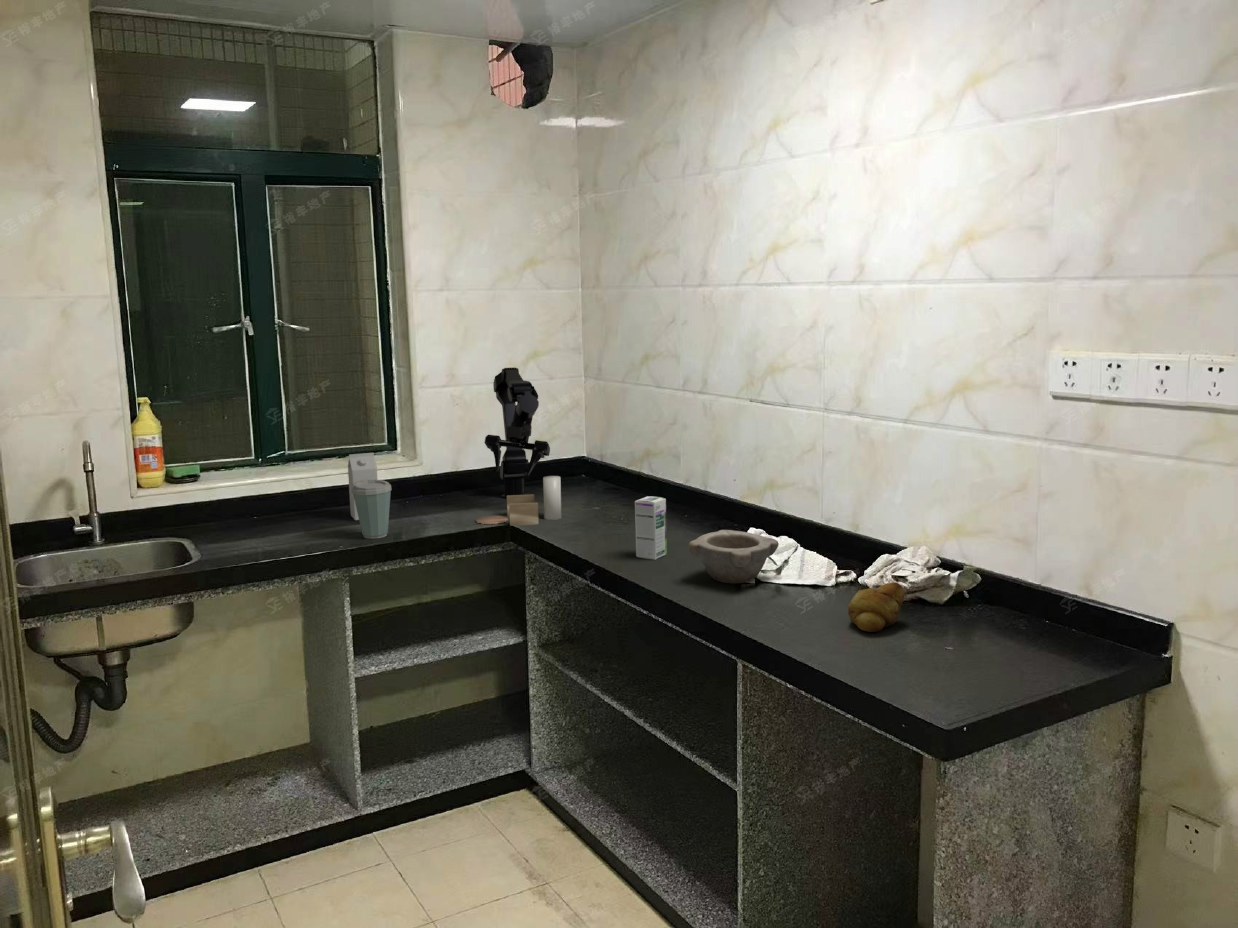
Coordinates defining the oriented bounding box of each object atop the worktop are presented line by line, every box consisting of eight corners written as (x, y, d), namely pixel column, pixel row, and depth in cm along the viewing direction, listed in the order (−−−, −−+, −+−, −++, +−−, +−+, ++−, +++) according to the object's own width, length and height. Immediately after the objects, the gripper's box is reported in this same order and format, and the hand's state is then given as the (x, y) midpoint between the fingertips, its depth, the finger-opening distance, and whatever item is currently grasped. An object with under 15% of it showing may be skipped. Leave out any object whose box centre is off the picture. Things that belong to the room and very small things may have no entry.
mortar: (741, 594, 211) (742, 553, 209) (680, 579, 222) (680, 540, 220) (784, 577, 223) (785, 538, 221) (724, 563, 234) (725, 526, 233)
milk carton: (350, 516, 290) (346, 452, 287) (374, 513, 293) (371, 450, 290) (355, 520, 284) (351, 456, 280) (379, 518, 287) (376, 454, 283)
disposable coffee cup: (403, 534, 267) (400, 480, 264) (373, 543, 258) (370, 487, 255) (375, 529, 273) (372, 477, 270) (345, 538, 264) (342, 483, 261)
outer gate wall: (509, 524, 277) (509, 503, 276) (538, 523, 279) (537, 502, 278) (510, 525, 276) (509, 505, 275) (538, 524, 277) (537, 503, 276)
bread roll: (884, 639, 183) (885, 598, 181) (835, 629, 188) (836, 589, 187) (907, 620, 193) (908, 581, 192) (859, 611, 198) (861, 573, 197)
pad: (490, 516, 287) (490, 514, 287) (514, 519, 283) (514, 518, 283) (469, 522, 280) (469, 520, 280) (493, 526, 275) (493, 524, 275)
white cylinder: (551, 515, 288) (550, 475, 286) (564, 517, 285) (563, 476, 283) (540, 518, 284) (539, 478, 282) (554, 520, 281) (553, 479, 279)
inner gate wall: (507, 515, 289) (506, 495, 288) (534, 514, 290) (533, 494, 289) (507, 516, 287) (507, 496, 286) (534, 515, 288) (534, 495, 287)
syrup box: (655, 560, 238) (655, 502, 236) (634, 557, 241) (634, 499, 239) (667, 554, 243) (666, 497, 240) (646, 551, 246) (646, 495, 243)
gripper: (486, 409, 283) (476, 460, 279) (549, 417, 282) (540, 468, 277) (492, 422, 294) (483, 472, 289) (553, 430, 292) (545, 479, 288)
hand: (512, 472), depth 286 cm, fingers open, 9 cm apart
